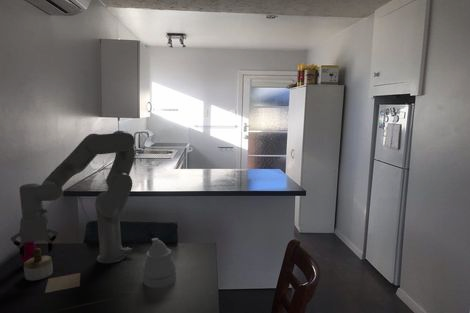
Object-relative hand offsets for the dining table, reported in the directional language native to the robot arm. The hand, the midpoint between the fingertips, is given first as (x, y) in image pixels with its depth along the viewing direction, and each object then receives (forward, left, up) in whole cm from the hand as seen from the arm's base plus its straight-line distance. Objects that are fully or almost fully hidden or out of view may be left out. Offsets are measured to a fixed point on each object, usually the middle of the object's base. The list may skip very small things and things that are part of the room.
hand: (37, 253), depth 144 cm
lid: (0, 0, -4) cm, 4 cm away
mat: (-10, +12, -10) cm, 18 cm away
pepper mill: (+5, -14, -10) cm, 18 cm away
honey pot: (-46, +25, -10) cm, 53 cm away
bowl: (0, 0, -10) cm, 10 cm away
